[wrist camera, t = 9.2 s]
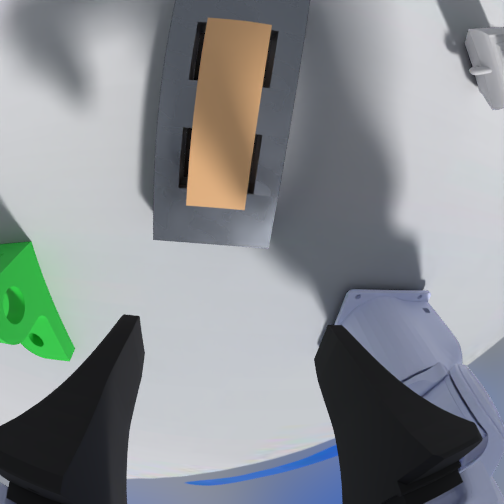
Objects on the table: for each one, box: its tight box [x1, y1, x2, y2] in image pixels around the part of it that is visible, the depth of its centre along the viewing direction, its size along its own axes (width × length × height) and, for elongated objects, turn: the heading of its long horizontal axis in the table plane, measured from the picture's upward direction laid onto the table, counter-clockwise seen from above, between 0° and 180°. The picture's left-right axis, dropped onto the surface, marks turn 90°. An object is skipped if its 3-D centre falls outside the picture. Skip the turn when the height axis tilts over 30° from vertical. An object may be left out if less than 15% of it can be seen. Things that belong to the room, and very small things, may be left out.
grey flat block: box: [153, 0, 310, 249], centre depth 15 cm, size 7×16×2 cm, turn 172°
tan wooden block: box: [186, 18, 272, 210], centre depth 14 cm, size 3×9×5 cm, turn 172°
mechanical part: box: [0, 241, 75, 361], centre depth 18 cm, size 12×6×8 cm, turn 0°
